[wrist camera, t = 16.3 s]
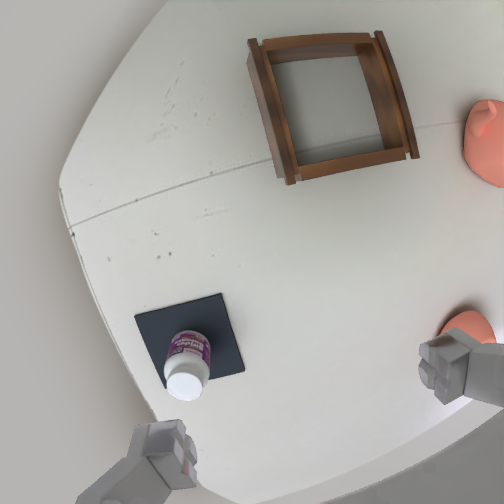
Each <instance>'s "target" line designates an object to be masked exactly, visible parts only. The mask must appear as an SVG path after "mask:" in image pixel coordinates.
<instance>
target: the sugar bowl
mask: <svg viewBox="0 0 504 504" xmlns="http://www.w3.org/2000/svg"><path fill="white" fill-rule="evenodd" d="M453 327H457V328H459V329H460V330H462V331H463V332H465V333H467V334H468V335H470V336H471V337H473V338H474V339H476V340H477V341H479V342H481V343H482V344H484V343H486V342H487V343H496V338H495V335H494V332H493V329H492V327H491V325H490V323H489V322H488V321H487V319H486V318H485V317H484V316H483V315H482V314H480V313H479V312H477V311H465V312H463V313H460V314H458V315H457V316H455V317H454V318H452V319H451V320H450V321H448V322H447V323H446V325H445V327H444V328H443V330H442V331H441V333H440V335H441V334H443V333H444V332H446V331H448V330H449V329H451V328H453Z"/></svg>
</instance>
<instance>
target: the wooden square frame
mask: <svg viewBox="0 0 504 504" xmlns="http://www.w3.org/2000/svg"><path fill="white" fill-rule="evenodd" d="M374 35H375V38H371V37H370V35H369V33H329V34H312V35H299V36H289V37H280V38H272V39H265V40H263V41H262V44H261V46H258V42H257V39H256V38H253V39H248V40H247V44H248V47H249V50H250V52H249V56H248V60H247V66H248V70H249V73H250V77H251V80H252V84H253V87H254V91H255V94H256V98H257V102H258V105H259V109H260V113H261V116H262V120H263V124H264V127H265V131H266V135H267V139H268V143H269V147H270V150H271V154H272V158H273V162H274V166H275V170H276V174H277V178H283V177H284V179H285V183H286V185H292V184H296V181H304V180H308V179H313V178H317V177H322V176H326V175H331V174H335V173H340V172H345V171H349V170H354V169H359V168H364V167H369V166H374V165H379V164H384V163H390V162H395V161H400V160H406V155H405V153H408V152H410V157H411V159H417V158H420V155H419V151H418V146H417V142H416V137H415V133H414V129H413V125H412V121H411V117H410V113H409V110H408V106H407V103H406V99H405V96H404V92H403V89H402V86H401V82H400V79H399V76H398V73H397V70H396V67H395V64H394V61H393V58H392V56H391V53H390V50H389V47H388V45H387V42H386V39H385V37H384V34H383V32H382V31H375V32H374ZM342 56H358V58H359V61H360V64H361V67H362V70H363V73H364V76H365V79H366V82H367V86H368V89H369V92H370V96H371V99H372V102H373V106H374V110H375V113H376V117H377V121H378V124H379V128H380V132H381V136H382V140H383V145H384V149H385V150H381V151H375V152H369V153H364V154H358V155H353V156H348V157H343V158H338V159H333V160H328V161H323V162H318V163H313V164H309V165H304V166H299V167H298V163H297V159H296V155H295V152H294V148H293V144H292V140H291V136H290V132H289V128H288V125H287V121H286V117H285V114H284V110H283V106H282V103H281V99H280V96H279V92H278V89H277V85H276V82H275V79H274V75H273V72H272V68H271V65H270V64H275V63H282V62H290V61H298V60H307V59H316V58H328V57H342Z"/></svg>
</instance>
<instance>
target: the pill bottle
mask: <svg viewBox="0 0 504 504" xmlns="http://www.w3.org/2000/svg"><path fill="white" fill-rule="evenodd" d="M164 375H165V378H166V380H167V389H168V391H169V393H170V394H171V395H172V396H173V397H175V398H177V399H179V400H183V401H190V400H194V399H196V398H198V397H199V396H200V395H201V393H202V390H203V387H204V386H205V385H206V384H207V382H208V380H209V375H210V344H209V342H208V340H207V339H206V337H205V336H204V335H202V334H201V333H199V332H196V331H191V330H186V331H182V332H180V333H178V334H177V335H176V336H175V337H174V338H173V339H172V342H171V345H170V348H169V351H168V355H167V359H166V362H165V366H164Z"/></svg>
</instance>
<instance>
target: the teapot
mask: <svg viewBox="0 0 504 504" xmlns="http://www.w3.org/2000/svg"><path fill="white" fill-rule="evenodd" d="M463 155H464V158H465V159H466V161H467V163H468V165H469V166H470V168H471V169H472V170H473V171H474V172H475V173H477V174H478V175H479V176H480V177H481V178H483V179H484V180H485V181H487V182H488V183H490V184H492V185H494V186H496V187H499V188H504V102H502V101H498V100H481V101H478V102H477V103H476V104H475V105H474V106H473V108H472V109H471V111H470V114H469V116H468V119H467V123H466V127H465V137H464V148H463Z"/></svg>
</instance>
